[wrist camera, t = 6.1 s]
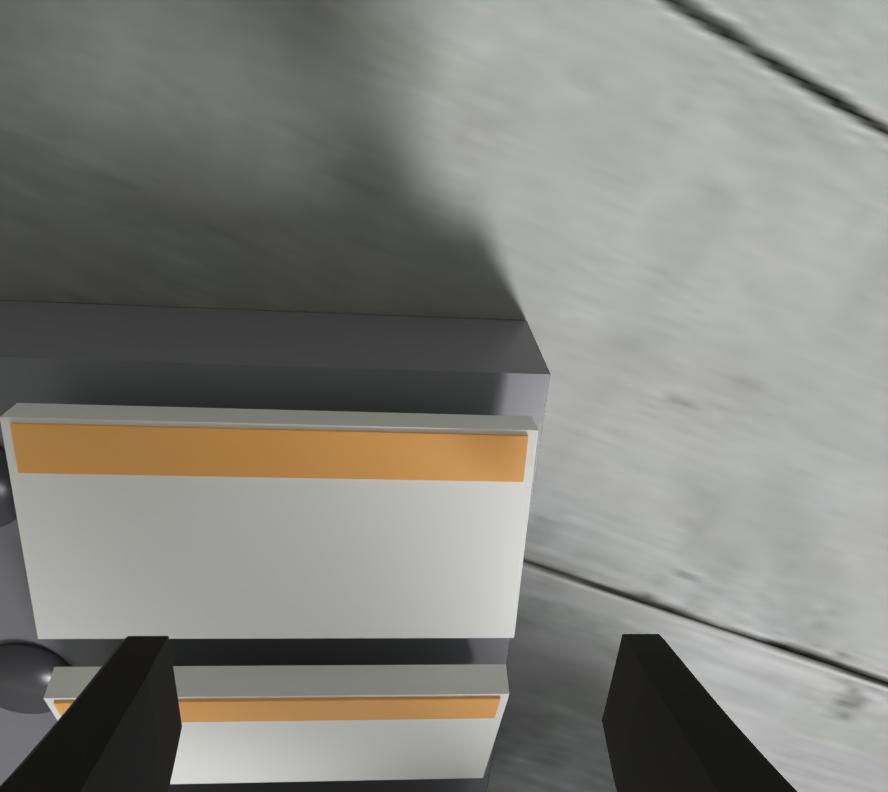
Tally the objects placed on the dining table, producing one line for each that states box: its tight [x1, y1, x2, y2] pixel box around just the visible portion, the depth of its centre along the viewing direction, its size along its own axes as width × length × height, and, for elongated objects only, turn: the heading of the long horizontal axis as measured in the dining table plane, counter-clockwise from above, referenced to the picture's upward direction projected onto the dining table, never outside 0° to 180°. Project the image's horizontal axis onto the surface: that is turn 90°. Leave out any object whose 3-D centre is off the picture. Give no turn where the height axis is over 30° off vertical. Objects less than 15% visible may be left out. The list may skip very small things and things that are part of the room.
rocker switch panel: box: [0, 301, 550, 792], centre depth 20 cm, size 18×14×3 cm
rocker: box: [0, 403, 538, 639], centre depth 15 cm, size 5×10×1 cm, turn 86°
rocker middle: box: [44, 664, 510, 784], centre depth 18 cm, size 5×10×1 cm, turn 86°
